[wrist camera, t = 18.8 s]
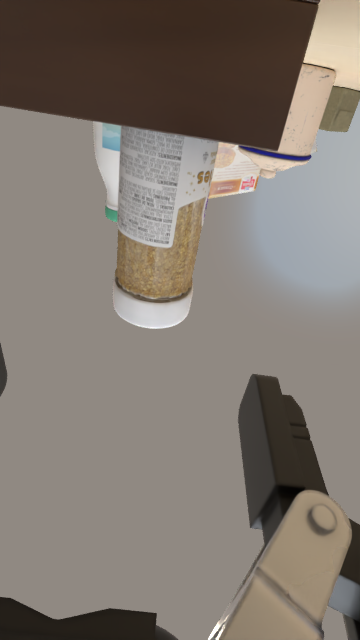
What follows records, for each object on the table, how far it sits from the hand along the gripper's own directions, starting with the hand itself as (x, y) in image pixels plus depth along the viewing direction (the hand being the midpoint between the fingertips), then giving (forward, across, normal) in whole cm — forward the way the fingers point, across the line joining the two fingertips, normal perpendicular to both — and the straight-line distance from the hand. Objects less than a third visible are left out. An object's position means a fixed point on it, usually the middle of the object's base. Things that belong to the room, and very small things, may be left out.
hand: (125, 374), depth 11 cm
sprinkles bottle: (+9, 0, -10) cm, 14 cm away
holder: (+9, +4, -11) cm, 15 cm away
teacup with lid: (+40, -12, -11) cm, 44 cm away
